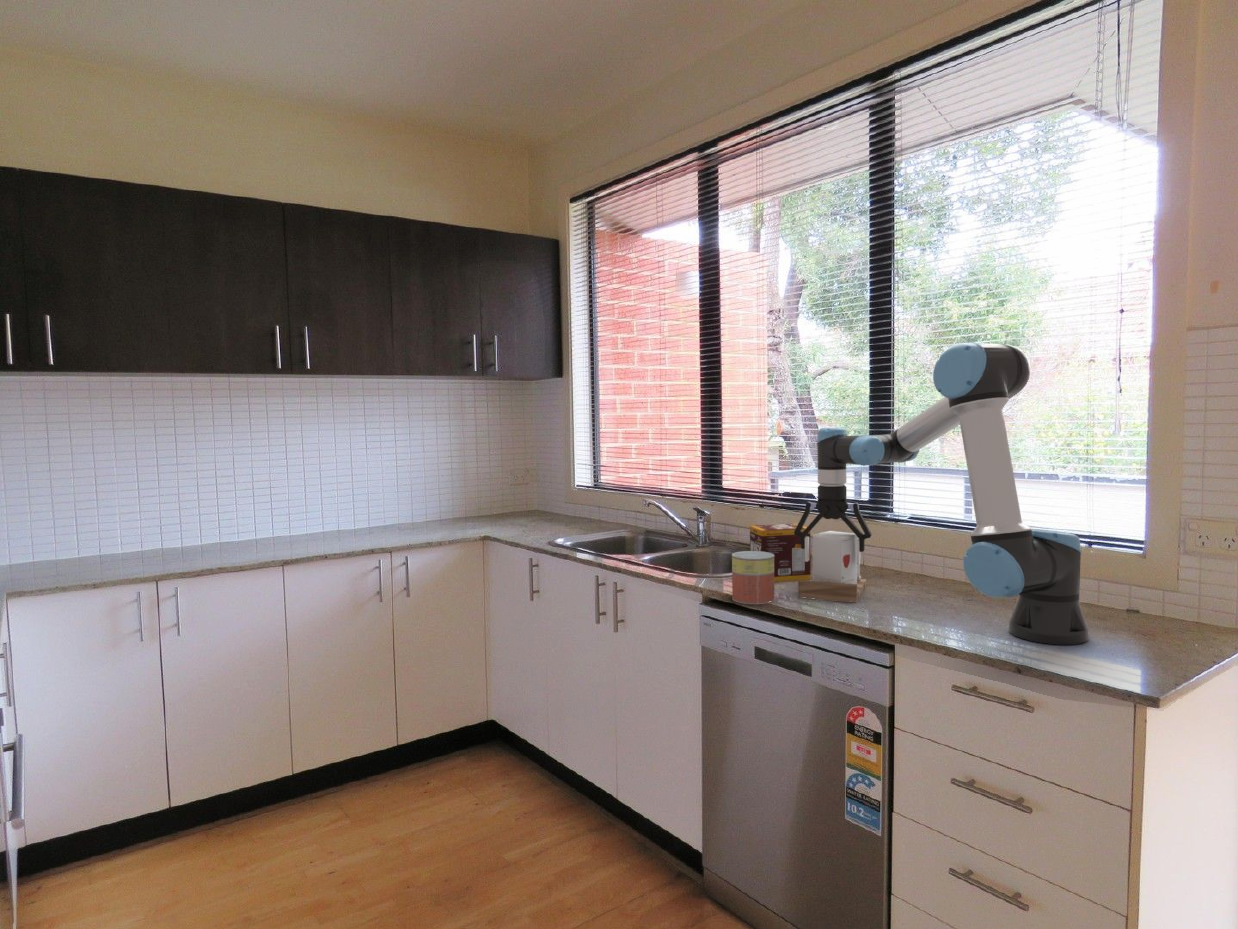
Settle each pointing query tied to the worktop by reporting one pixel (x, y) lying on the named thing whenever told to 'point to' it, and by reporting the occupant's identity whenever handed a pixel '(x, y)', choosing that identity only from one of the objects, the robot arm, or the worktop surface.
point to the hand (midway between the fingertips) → (832, 562)
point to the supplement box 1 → (782, 550)
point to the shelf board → (831, 590)
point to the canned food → (753, 577)
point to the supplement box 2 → (834, 557)
